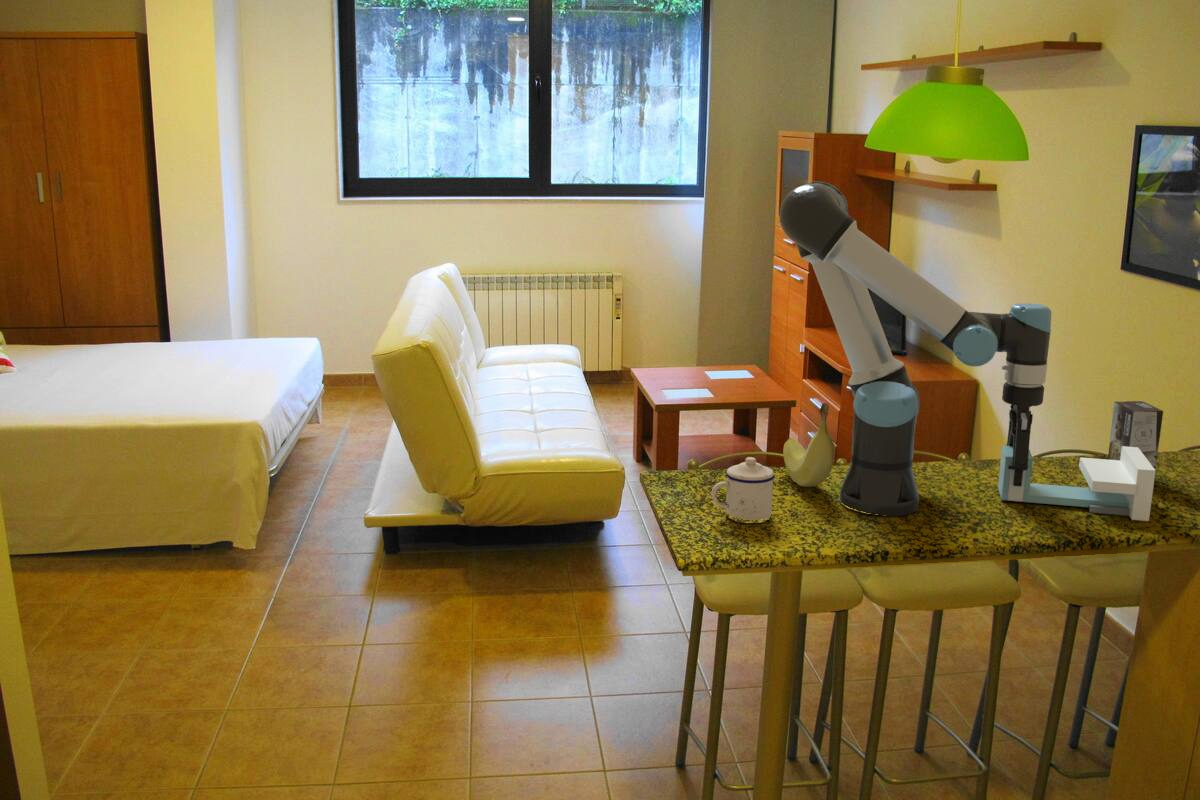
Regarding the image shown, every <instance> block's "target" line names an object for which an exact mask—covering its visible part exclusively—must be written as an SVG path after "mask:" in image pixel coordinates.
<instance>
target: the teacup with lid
mask: <svg viewBox="0 0 1200 800" xmlns="http://www.w3.org/2000/svg"><path fill="white" fill-rule="evenodd" d="M725 476H726V481H720V482H717V483H716V484H714V486H713V487H712V489H711V497H712V501H713V503H715V505H716V506H718V507H720V508H723V509H725V513H726V512H727V513H728V514H729V515H731V516H733V517H737V518H741V519H746V520H760V519H765V518H768V517H769V516H771V514H772V512H773V511H772V510H773V492H774V491H773V489H774V479H775V477H776V476H775V472H774V470H772V469H771V468H770V467H768V466H765V465H763V464H761V463H759V462H757V459H756V458H755V457H752V456H747V457H746V458H745V461H742V462H740V463H739V464H735V465H732V466H729V467H728V468H727V470H726V472H725ZM723 487H726V496H725V497H726V500H725V502H720V501H719V500H718V498H717V492H718V490H719V489H720V488H723ZM772 515H773V514H772ZM771 517H772V516H771Z"/></svg>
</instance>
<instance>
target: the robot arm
mask: <svg viewBox="0 0 1200 800" xmlns="http://www.w3.org/2000/svg"><path fill="white" fill-rule="evenodd" d="M848 208H849V207H848V202H847V199H846V197H845V195H844V194H843V193H842V192H841V191H840V190H839V189H838V187H836V186H834V185H833V184H830V183H828V182H823V181H812V182H809V183H805V184H803V185H799V186H797V187H796V188H794V189H792V190H791V191H790V192H788V194H787V195H786V196H785V197H784V198H783V200H782V202H781V204H780V208H779V215H778V216H779V224H780V226H781V229H782V231H783V232H784V234H785V235H786V237H788V239H790V240H791V241H792V242H794V243H795V245H796V248H797V251H798V253H799V255H800V259H802V260H803V261H806V262H808V263H810V264H811V265H812V268H813V270H814V274H815V277H816V279H817V282H818V285H819V286H820V290H821V291H822V295H823V298H824V300H825V303H826V305H827V308H828V311H829V313H830V317H831V318H832V321H833V324H834V326H835V329H836V332H837V334H838V335H837V336H838V337H839V340H840V342H841V345H842V347H843V350H844V353H845V355H846V358H847V361H848V363H849V366H850V369H851V372H852V373H851V376H850V378H849V380H848V385H849V387H850V390H851V394H852V397H853V398H854V400H853V405H852V407H853V425H852V426H853V427H852V439H851V441H852V442H851V453H850V455H851V457H850V465H849V467H848V470H847V472H846V474H845V477H844V479H843V482H842V484H841V487H840V489H839V499H840V501H841V503H843V504H844V505H846V506H848V507H850V508H853V509H856V510H858V511H863V512H866V513H871V514H878V515H886V516H885V517H901V516H907V515H911V514H913V513H916V512H917V511H918V510H919V505H920V503H919V502H920V494H919V491H918V486H917V483H916V478H915V475H914V470H913V458H914V450H915V449H914V447H915V434H916V426H917V418H918V415H919V412H920V407H921V403H920V401H921V400H920V394H919V392H918V389H917V388H916V387H915V385H914V383H913V382H911V379H910V376H909V374H908V371H907V368H906V366H905V363H904V362H903V361H901V360H899V359H896V358H895V357H894V356H893V353H892V350H891V348H890V345H889V343H888V340H887V337H886V334H885V332H884V328H883V326H882V324H881V321H880V318H879V316H878V313H877V310H876V309H875V308H876V307H875V305H874V302H873V300H872V297H871V295H870V292H869V290H870V291H871V292H873V293H874V294H875V295H877V296H878V297H879V298H880V299H882V300H884V302H886V303H887V304H888V305H890V306H891V307H892V308H894V309H895V310H897V311H899V312H900V313H901V314H902V315H903V316H905V317H906V318H907V319H909V320H910V321H912V322H913V323H914V324H915V325H917V326H919V328H922V329H923V331H924V332H927V333H928V334H929V335H930V336H931V337H933V338H934V339H936V340H937V341H939V343H941V344H942V345H943V346H944V348H946V349H949V350H950V351H951V352H953V354H954V355H955V357H956V359H957V360H958V361H959V362H960V363H961V364H963V365H966V366H968V367H981V366H984V365H986V364H987V363H988V364H989V363H990V361H991V360H993V358H994V356H995V354H996V352H997V353H1006V356H1005V364H1004V365H1002V366H1001V370H1003V371H1004V381H1005V382H1004V383H1003V386H1002V396H1001V399H1002V401H1003V402H1005V403H1006V404H1008V405H1009V406H1010V409H1009V413H1008V415H1009V421H1008V431H1007V432H1008V433H1007V440H1006V445H1005V446H1013V460H1012V466H1008V469H1011V470H1010V480H1009V490H1008V500H1010V502H1011V501H1012V502H1019V501H1023V492H1024V482H1025V472H1026V470H1027V469H1028V454H1029V450H1030V439H1031V429H1032V424H1033V417H1034V415H1033V413H1032V410H1030V408H1031V407H1038V406H1041V405H1042V404H1043V402H1044V395H1045V386H1044V385H1043V384H1045V383H1046V378H1047V369H1048V356H1049V355H1048V354H1049V349H1050V339H1051V332H1052V330H1051V328H1052V327H1051V326H1052V310H1051V309H1050V308H1049V307H1048V306H1046V305H1043V304H1038V303H1029V302H1028V303H1026V302H1025V303H1015V304H1012V306H1011V307H1010V310H1009V313H994V312H993V313H991V312H979V311H978V312H975V311H968V310H967V309H965V307H963V306H961V305H960V304H958V303H957V302H956V301H955V300H954V299H952V298H951V297H949V296H948V295H947V294H945V293H944V292H943V291H941V290H940V289H938V288H937V287H936V286H935V285H934V284H932V283H931V282H929V281H928V280H926V278H924V277H923V276H921V275H920V274H919V273H917V272H916V271H915V270H913V269H912V268H910V267H909V266H908V265H906V264H905V263H904V262H902V261H901V260H900V259H898V258H897V257H896V256H894V255H893V254H892V253H890V252H889V251H887V250H886V249H885V248H883V247H882V246H881V245H879V243H877V242H875V241H874V240H873V239H871V238H870V237H869V236H868V235H866V234H865V233H864V232H862V231H861V230H859V229H858V224H857V220H855V219H854V218H853V217H851V216H850V215H849V209H848ZM1008 500H1007V501H1008ZM840 501H839V502H840ZM841 503H840V504H841Z"/></svg>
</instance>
